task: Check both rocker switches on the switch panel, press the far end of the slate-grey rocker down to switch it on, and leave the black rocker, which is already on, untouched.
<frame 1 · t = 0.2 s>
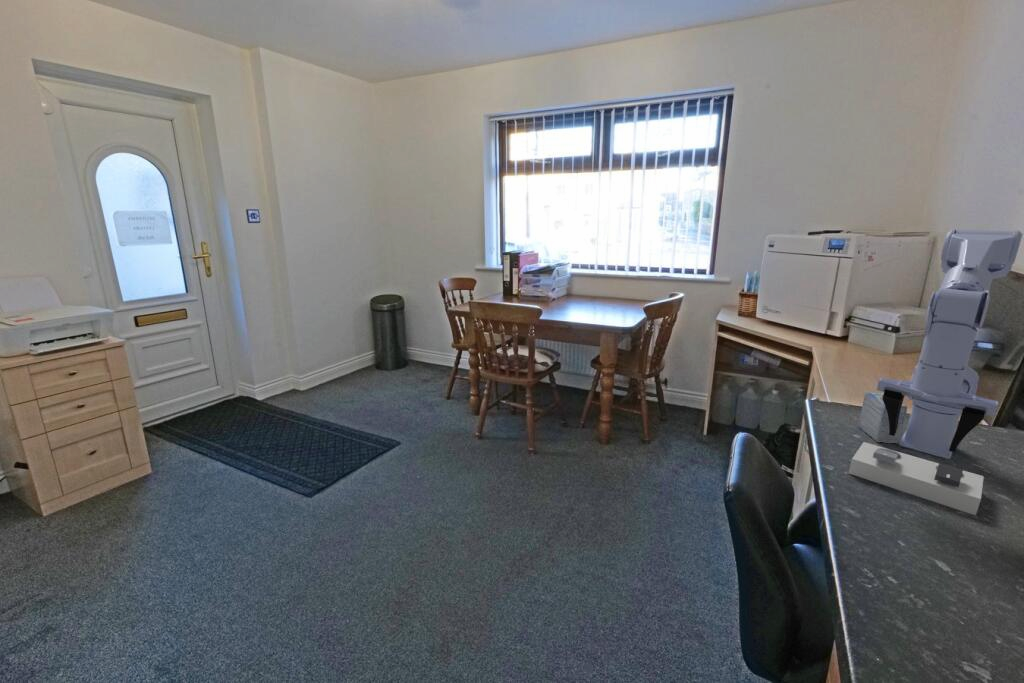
hand: (921, 441, 78), 10 cm above the countertop, tool pointing down, fingers open, 7 cm apart
switch panel: (911, 482, 83), on the countertop
medicine box: (877, 436, 102), on the countertop
black rocker: (948, 474, 78), point 4 cm above the countertop, hinge at 10.0°
grey rocker: (885, 455, 84), point 4 cm above the countertop, hinge at -10.0°
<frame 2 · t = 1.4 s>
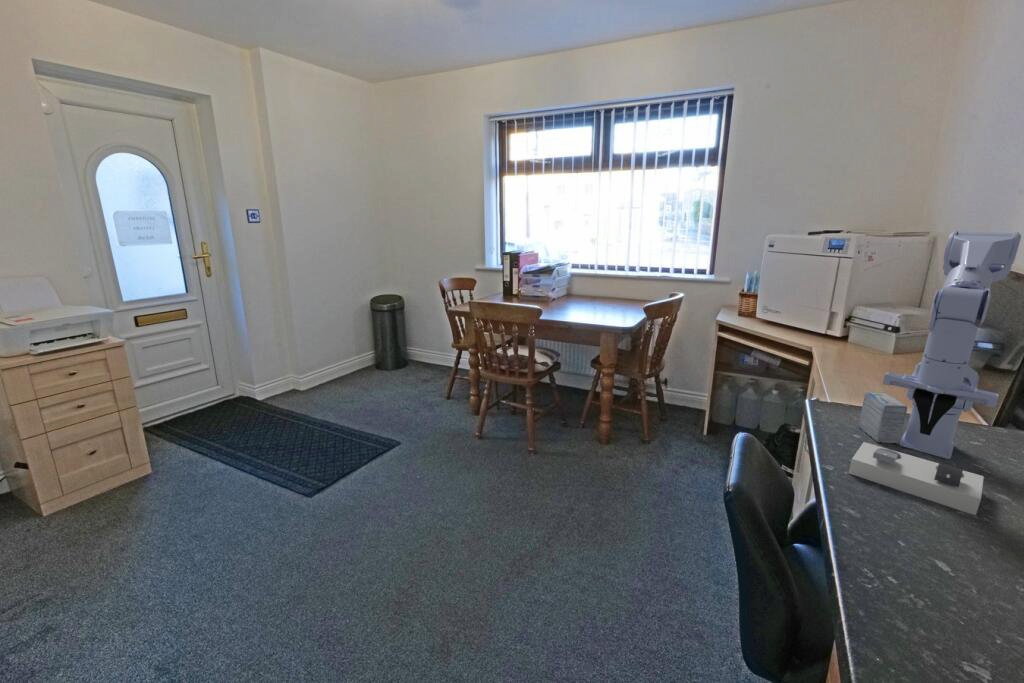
hand: (925, 432, 82), 9 cm above the countertop, tool pointing down, fingers closed
nothing on the countertop moved.
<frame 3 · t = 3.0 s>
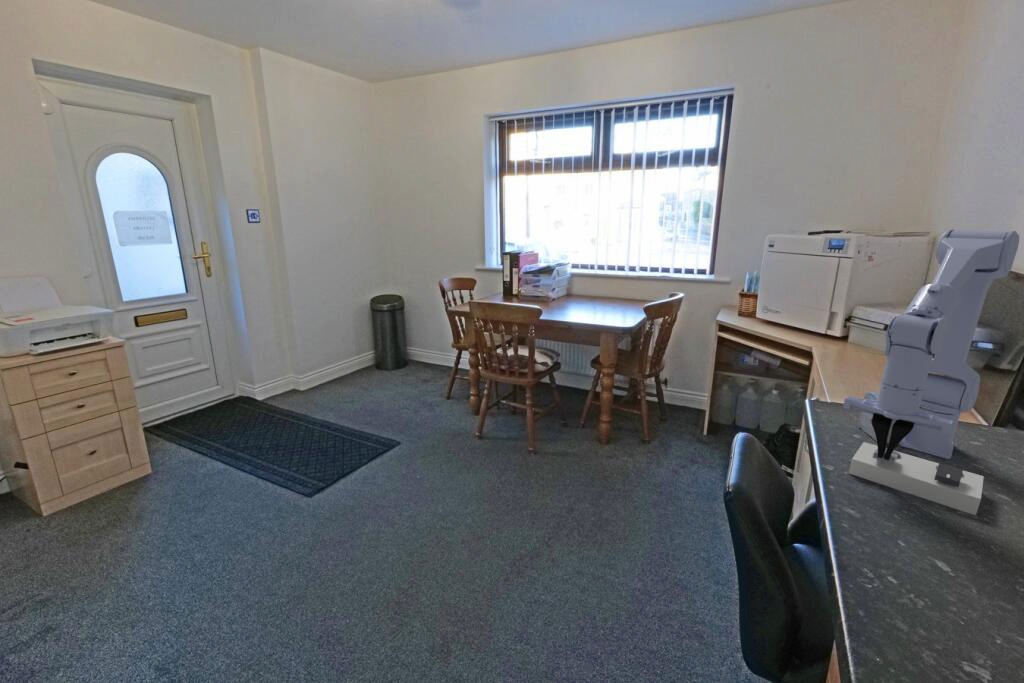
hand: (883, 457, 83), 5 cm above the countertop, tool pointing down, fingers closed, pressing on grey rocker
grey rocker: (885, 455, 84), point 4 cm above the countertop, hinge at -9.3°, touching gripper
everything else where it was.
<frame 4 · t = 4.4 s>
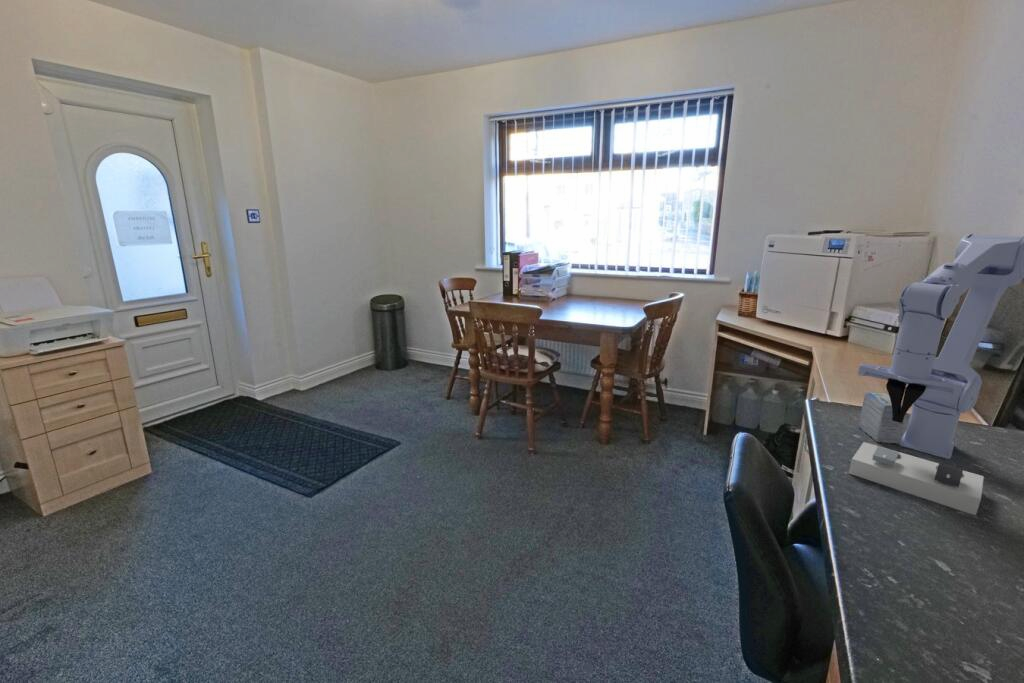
hand: (897, 420, 87), 9 cm above the countertop, tool pointing down, fingers closed
grey rocker: (885, 455, 84), point 4 cm above the countertop, hinge at 5.3°
everything else where it was.
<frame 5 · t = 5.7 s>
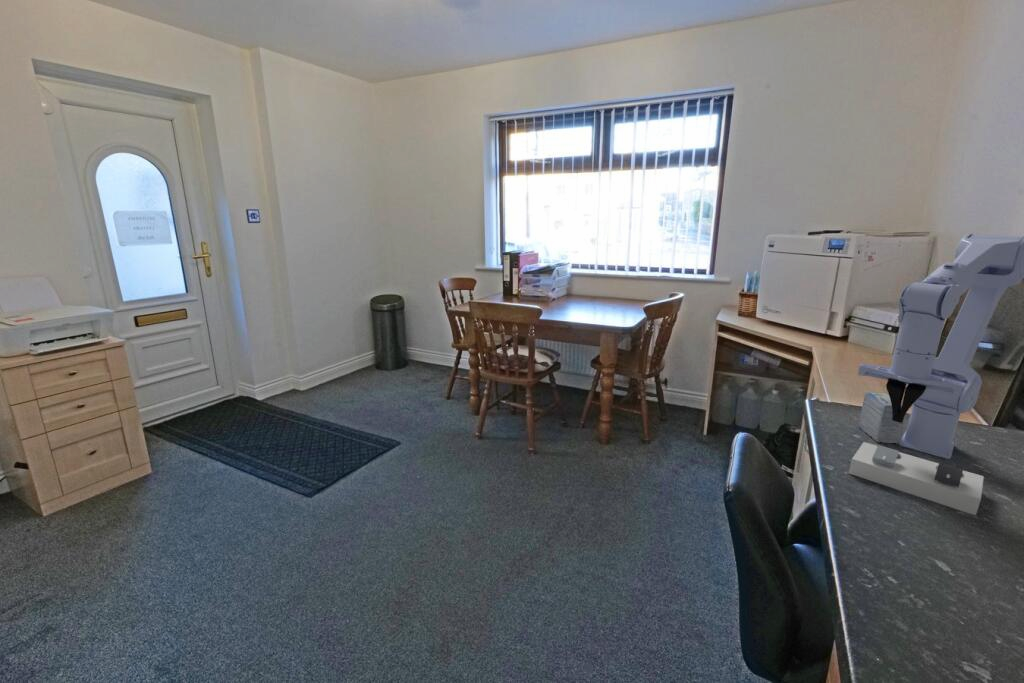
hand: (897, 420, 87), 9 cm above the countertop, tool pointing down, fingers closed
grey rocker: (885, 455, 84), point 4 cm above the countertop, hinge at 15.7°
everything else where it was.
at the end: grey rocker at +16° (first picture: -10°); black rocker at +10° (first picture: +10°); medicine box moved 0.3 cm from its start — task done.
